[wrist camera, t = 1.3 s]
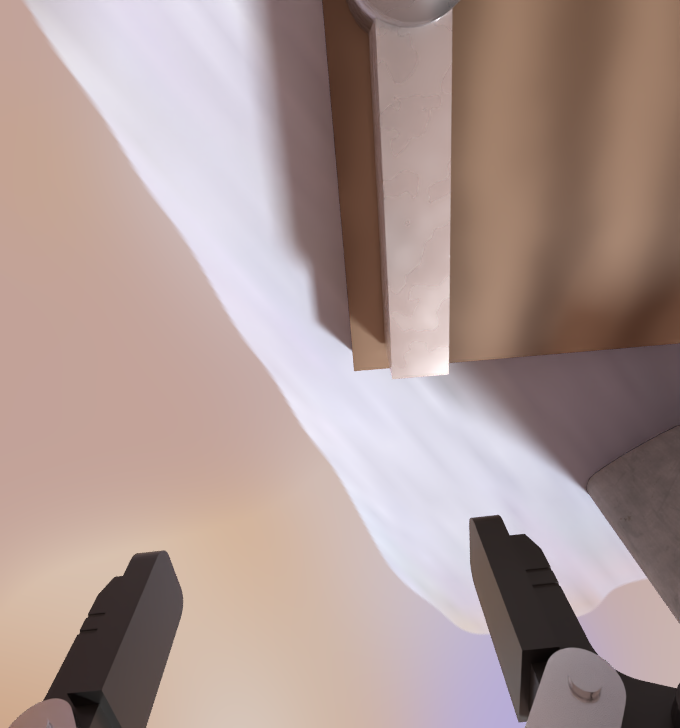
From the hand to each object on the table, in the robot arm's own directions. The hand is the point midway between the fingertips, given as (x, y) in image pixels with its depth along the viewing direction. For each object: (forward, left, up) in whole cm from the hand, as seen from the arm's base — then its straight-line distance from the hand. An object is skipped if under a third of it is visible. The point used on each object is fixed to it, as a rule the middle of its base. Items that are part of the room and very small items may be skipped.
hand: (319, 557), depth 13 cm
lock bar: (-9, +3, -18) cm, 20 cm away
